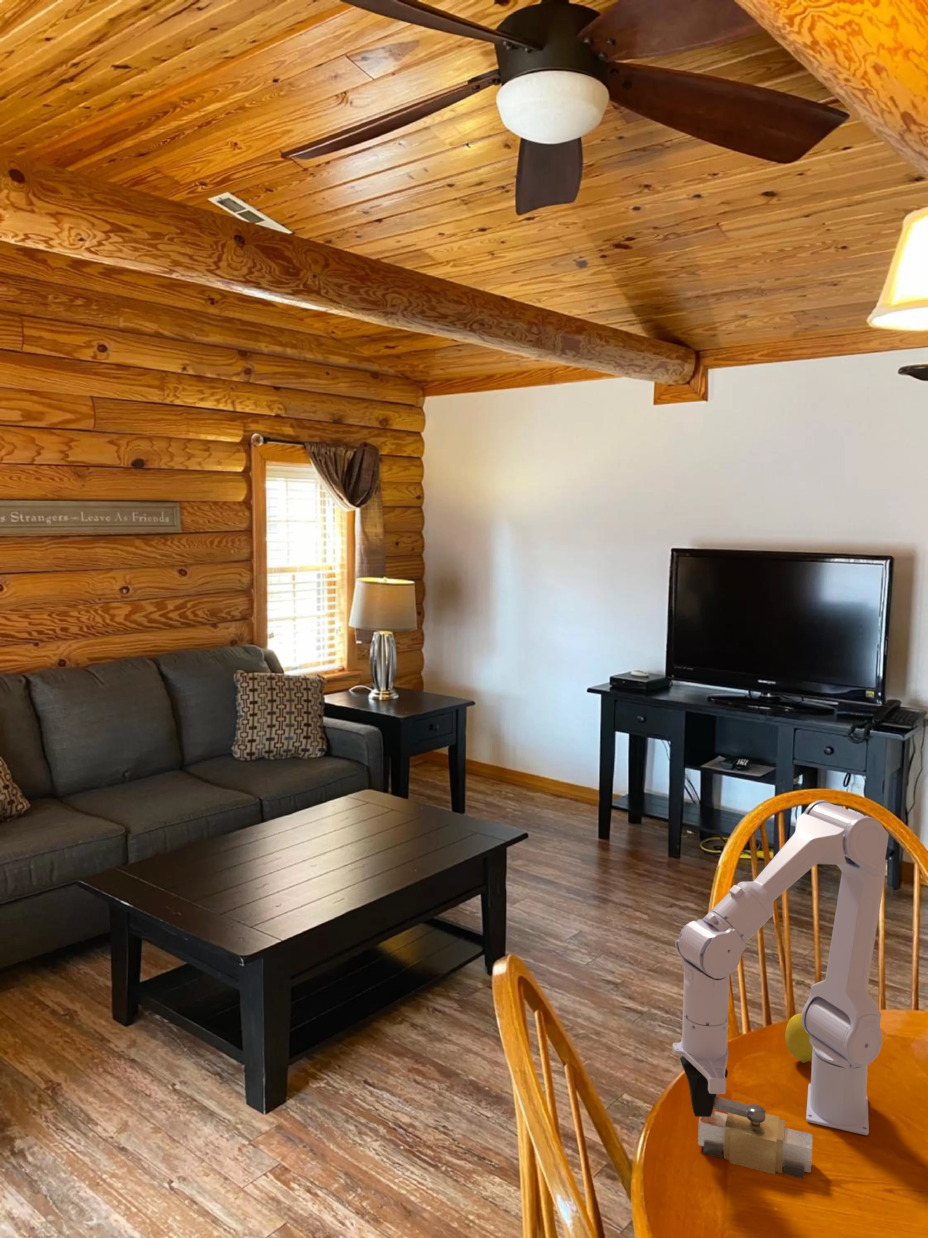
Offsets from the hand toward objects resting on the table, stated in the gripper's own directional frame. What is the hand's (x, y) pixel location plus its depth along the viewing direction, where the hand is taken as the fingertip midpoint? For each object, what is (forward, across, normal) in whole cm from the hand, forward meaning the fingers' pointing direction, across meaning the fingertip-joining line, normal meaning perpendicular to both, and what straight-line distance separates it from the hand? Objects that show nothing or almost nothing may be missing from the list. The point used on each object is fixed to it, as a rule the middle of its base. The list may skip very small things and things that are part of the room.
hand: (701, 1114), depth 122 cm
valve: (+5, +1, +7) cm, 8 cm away
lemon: (+5, -22, +21) cm, 31 cm away
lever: (0, -1, +4) cm, 4 cm away
